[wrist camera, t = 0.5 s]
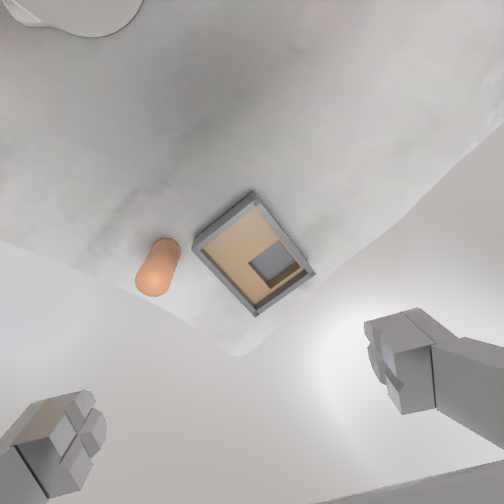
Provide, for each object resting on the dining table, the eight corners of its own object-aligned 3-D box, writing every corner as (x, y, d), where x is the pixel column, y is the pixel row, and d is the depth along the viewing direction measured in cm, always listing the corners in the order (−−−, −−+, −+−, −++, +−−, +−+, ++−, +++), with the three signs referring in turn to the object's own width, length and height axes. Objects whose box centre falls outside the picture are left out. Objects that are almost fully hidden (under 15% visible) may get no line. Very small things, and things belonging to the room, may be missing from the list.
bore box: (194, 237, 44) (191, 249, 39) (253, 190, 42) (257, 198, 38) (252, 299, 49) (255, 317, 44) (306, 260, 47) (316, 274, 42)
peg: (147, 249, 44) (127, 280, 35) (167, 232, 43) (152, 259, 34) (166, 268, 45) (152, 302, 36) (186, 252, 45) (177, 283, 36)
